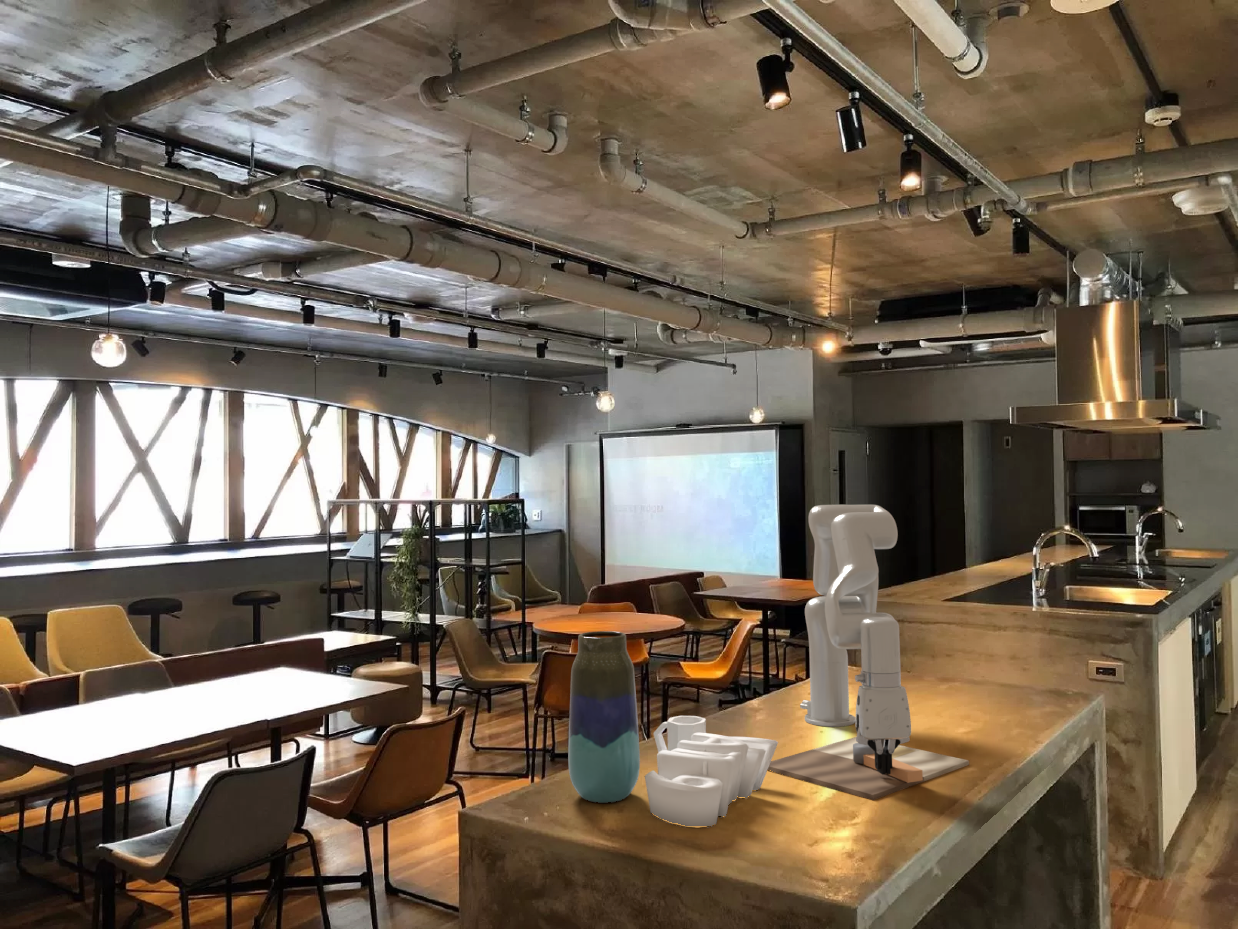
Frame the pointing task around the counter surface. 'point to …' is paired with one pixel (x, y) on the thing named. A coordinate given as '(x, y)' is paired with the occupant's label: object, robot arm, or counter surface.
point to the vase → (603, 719)
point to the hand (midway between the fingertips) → (883, 772)
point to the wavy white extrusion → (706, 777)
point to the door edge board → (860, 768)
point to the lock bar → (899, 769)
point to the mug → (679, 730)
